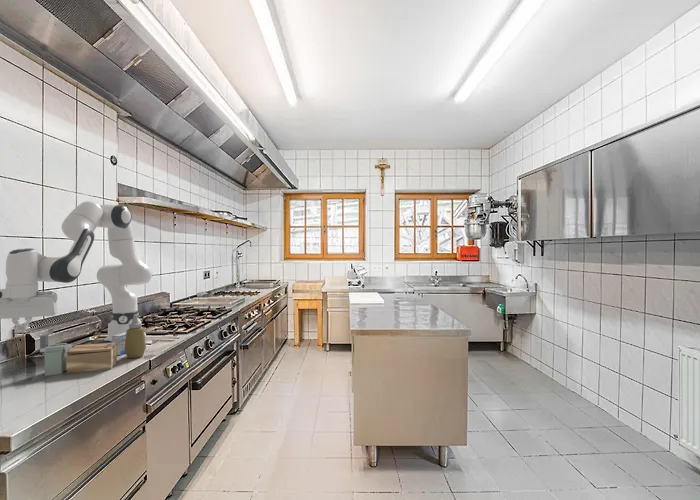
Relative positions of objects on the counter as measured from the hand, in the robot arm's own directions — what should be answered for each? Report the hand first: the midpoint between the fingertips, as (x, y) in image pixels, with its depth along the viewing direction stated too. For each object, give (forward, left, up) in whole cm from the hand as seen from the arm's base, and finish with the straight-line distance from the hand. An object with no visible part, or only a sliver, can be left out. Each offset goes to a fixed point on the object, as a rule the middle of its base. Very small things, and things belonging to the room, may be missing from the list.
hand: (22, 329), depth 129 cm
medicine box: (-19, +29, -18) cm, 39 cm away
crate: (0, +22, -17) cm, 28 cm away
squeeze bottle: (-10, +35, -17) cm, 40 cm away
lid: (0, +22, -10) cm, 24 cm away
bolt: (0, +10, -9) cm, 13 cm away
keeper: (0, +10, -17) cm, 20 cm away
